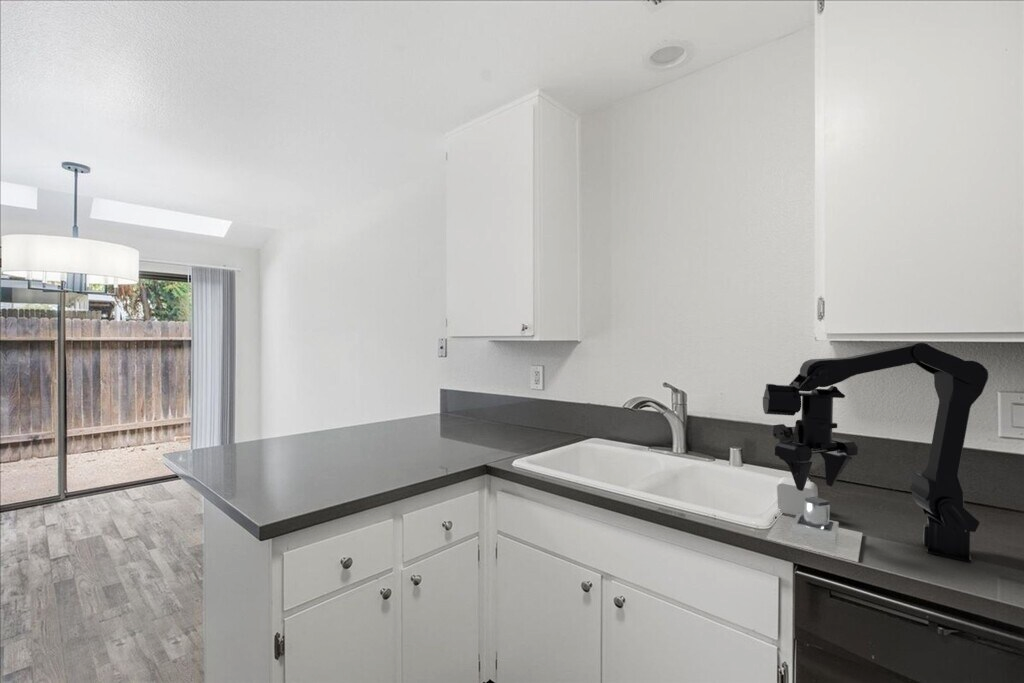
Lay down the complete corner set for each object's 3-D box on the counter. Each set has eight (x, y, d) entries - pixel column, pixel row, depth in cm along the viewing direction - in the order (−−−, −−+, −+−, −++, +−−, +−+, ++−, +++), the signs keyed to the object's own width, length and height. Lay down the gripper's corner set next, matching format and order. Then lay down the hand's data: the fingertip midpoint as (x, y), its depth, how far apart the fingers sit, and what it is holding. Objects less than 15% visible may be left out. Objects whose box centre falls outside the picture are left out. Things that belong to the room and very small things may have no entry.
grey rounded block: (823, 506, 121) (822, 470, 119) (815, 527, 114) (814, 489, 112) (787, 498, 127) (786, 464, 125) (778, 518, 119) (776, 482, 117)
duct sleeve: (813, 529, 106) (814, 495, 106) (833, 537, 102) (834, 502, 102) (798, 531, 105) (799, 497, 105) (818, 540, 100) (820, 504, 100)
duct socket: (862, 535, 105) (862, 521, 105) (858, 562, 92) (858, 545, 92) (780, 517, 115) (780, 504, 115) (766, 539, 102) (767, 524, 102)
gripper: (811, 409, 114) (810, 473, 114) (753, 413, 107) (752, 481, 108) (860, 417, 104) (858, 488, 104) (799, 421, 97) (797, 497, 97)
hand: (815, 488), depth 103 cm, fingers open, 9 cm apart
